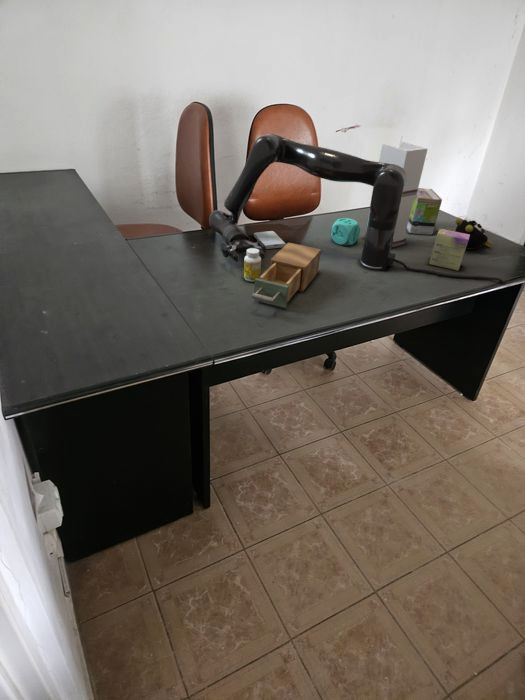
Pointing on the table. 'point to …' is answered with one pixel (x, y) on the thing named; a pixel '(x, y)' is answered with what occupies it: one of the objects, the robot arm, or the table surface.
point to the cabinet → (299, 261)
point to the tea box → (424, 212)
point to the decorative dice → (345, 231)
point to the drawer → (277, 284)
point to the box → (449, 249)
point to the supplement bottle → (252, 265)
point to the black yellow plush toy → (472, 233)
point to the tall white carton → (412, 164)
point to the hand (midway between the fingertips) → (250, 257)
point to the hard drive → (270, 239)
